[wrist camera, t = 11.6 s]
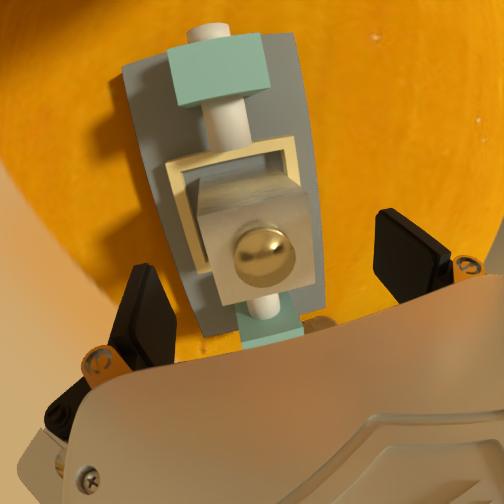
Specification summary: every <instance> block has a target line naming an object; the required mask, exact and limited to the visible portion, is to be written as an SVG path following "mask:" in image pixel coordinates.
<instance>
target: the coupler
mask: <svg viewBox="0 0 504 504" xmlns="http://www.w3.org/2000/svg"><path fill="white" fill-rule="evenodd" d="M197 220H198V223H199V227H200V231H201V234H202V238H203V241H204V245H205V248H206V252H207V255H208V259H209V262H210V266H211V269H212V273H213V276H214V279H215V283H216V286H217V289H218V293H219V296H220V299H221V302H222V306H225V305H230V304H234V303H238V302H243V301H247V300H251V299H255V298H260V297H264V296H268V295H272V294H276V293H280V292H284V291H288V290H292V289H296V288H300V287H304V286H307V285H311V284H315V268H314V254H313V241H312V230H311V219H310V209H309V199H308V192H306V191H305V190H304V189H303V188H302V187H300V186H299V185H298V184H297V183H295V182H294V181H293V180H292V179H290V178H289V177H288V176H287V175H285V174H284V173H283V172H282V171H280V170H279V169H278V168H276V167H275V166H274V165H272V164H271V163H270V162H269V163H264V164H259V165H254V166H249V167H244V168H239V169H234V170H230V171H225V172H221V173H216V174H212V175H208V176H204V177H200V182H199V194H198V206H197Z"/></svg>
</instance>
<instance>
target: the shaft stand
mask: <svg viewBox="0 0 504 504" xmlns="http://www.w3.org/2000/svg"><path fill="white" fill-rule="evenodd" d="M187 39H188V44H186V45H182V46H178V47H174V48H170V49H167V52H166V53H162V54H159V55H155V56H152V57H149V58H146V59H142V60H139V61H136V62H133V63H131V64H128V65H125V66H122V67H121V68H122V73H123V78H124V84H125V88H126V93H127V98H128V103H129V107H130V112H131V116H132V120H133V124H134V129H135V133H136V137H137V141H138V144H139V148H140V152H141V156H142V160H143V163H144V167H145V171H146V174H147V178H148V181H149V185H150V188H151V191H152V195H153V198H154V201H155V204H156V208H157V211H158V214H159V217H160V220H161V223H162V227H163V230H164V233H165V236H166V239H167V242H168V244H169V247H170V250H171V253H172V256H173V259H174V262H175V264H176V267H177V270H178V273H179V275H180V278H181V281H182V284H183V286H184V289H185V291H186V294H187V297H188V299H189V302H190V304H191V307H192V309H193V312H194V314H195V317H196V319H197V322H198V324H199V327H200V329H201V332H202V334H203V336H204V338H205V337H210V336H215V335H219V334H224V333H229V332H233V331H238V330H239V333H240V338H241V343H242V347H243V350H245V349H250V348H254V347H258V346H263V345H267V344H271V343H275V342H279V341H283V340H287V339H291V338H295V337H299V336H302V335H304V327H303V325H302V322H301V320H300V318H299V315H302V314H305V313H309V312H312V311H316V310H320V309H323V308H326V307H325V277H324V257H323V241H322V227H321V214H320V203H319V192H318V182H317V173H316V165H315V156H314V148H313V141H312V134H311V127H310V120H309V113H308V107H307V101H306V95H305V89H304V83H303V78H302V72H301V67H300V62H299V57H298V52H297V47H296V43H295V38H294V34H293V33H279V34H266V35H260V32H259V33H250V34H242V35H234V36H231V35H230V30H229V26H228V24H225V23H210V24H205V25H201V26H198V27H195V28H193V29H191V30H189V31H188V32H187ZM269 162H270V163H271V164H272V165H274V166H275V167H276V168H278V169H279V170H280V171H282V172H283V173H284V174H285V175H287V176H288V177H289V178H290V179H292V180H293V181H294V182H295V183H297V184H298V185H299V186H300V187H302V188H303V189H304V190H305V191H306V192H308V199H309V209H310V219H311V230H312V241H313V254H314V268H315V284H311V285H307V286H304V287H300V288H296V289H292V290H288V291H284V292H280V293H276V294H272V295H268V296H264V297H260V298H255V299H251V300H247V301H243V302H238V303H234V304H230V305H225V306H222V302H221V299H220V296H219V293H218V289H217V286H216V283H215V279H214V276H213V273H212V269H211V266H210V262H209V259H208V255H207V252H206V248H205V245H204V241H203V238H202V234H201V231H200V227H199V223H198V220H197V206H198V194H199V182H200V177H204V176H208V175H212V174H216V173H221V172H225V171H230V170H234V169H239V168H244V167H249V166H254V165H259V164H264V163H269Z"/></svg>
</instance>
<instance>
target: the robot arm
mask: <svg viewBox="0 0 504 504" xmlns="http://www.w3.org/2000/svg"><path fill="white" fill-rule="evenodd" d="M450 256H451V251H449V250H448V249H447V248H446V247H444V246H443V245H442V244H441V243H439V242H438V241H437V240H436V239H434V238H433V237H432V236H430V235H429V234H428V233H426V232H425V231H424V230H422V229H421V228H420V227H418V226H417V225H416V224H414V223H413V222H412V221H410V220H409V219H407V218H406V217H405V216H403V215H402V214H400V213H399V212H397V211H396V210H395V209H393V208H388V209H383V210H380V211H379V213H378V214H377V215H376V218H375V243H374V259H373V270H374V273H375V275H376V276H377V277H378V278H379V280H380V281H381V282H382V283H383V284H384V286H385V287H386V288H387V289H388V290H389V292H390V293H391V294H392V295H393V297H394V298H395V299H396V300H397V301H398V303H399V305H397V306H394V307H391V308H388V309H386V310H383V311H380V312H377V313H374V314H371V315H368V316H365V317H362V318H359V319H356V320H353V321H350V322H347V323H344V324H340V325H337V326H334V327H330V328H327V329H324V330H320V331H317V332H313V333H310V334H306V335H302V336H299V337H295V338H291V339H287V340H283V341H279V342H275V343H271V344H267V345H263V346H258V347H254V348H250V349H245V350H241V351H236V352H231V353H227V354H222V355H217V356H212V357H206V358H201V359H195V360H190V361H184V362H178V363H174V358H175V341H176V327H177V320H176V316H175V314H174V311H173V309H172V307H171V305H170V303H169V300H168V298H167V296H166V293H165V291H164V289H163V287H162V284H161V282H160V280H159V277H158V275H157V272H156V270H155V268H154V266H153V265H151V266H150V265H149V264H148V263H144V264H140V265H136V266H134V267H133V269H132V272H131V275H130V277H129V280H128V283H127V286H126V289H125V292H124V295H123V297H122V300H121V303H120V305H119V308H118V311H117V314H116V318H115V321H114V324H113V328H112V331H111V334H110V337H109V341H108V344H107V345H101V346H98V347H95V348H94V349H92V350H91V351H89V352H88V353H87V354H86V356H85V357H84V358H83V361H82V363H81V370H82V373H83V375H84V376H83V377H82V378H81V379H80V380H79V381H78V382H76V383H75V384H74V385H73V386H71V387H70V388H69V389H68V390H67V391H66V392H64V393H63V394H62V395H61V396H60V397H59V398H57V399H56V400H55V401H54V402H53V403H52V404H51V405H50V406H49V407H48V409H47V410H46V412H45V416H44V422H45V426H46V427H45V429H44V430H43V429H41V428H40V430H39V431H38V432H37V434H36V436H35V437H34V438H33V440H32V441H31V443H30V444H29V446H28V447H27V449H26V450H25V452H24V453H23V455H22V457H21V458H20V460H19V462H18V464H17V473H18V476H19V478H20V480H21V481H22V483H23V484H24V485H25V486H26V487H27V489H28V490H29V491H30V492H31V493H32V495H33V496H34V497H35V498H36V499H37V500H38V501H39V502H40V504H504V276H502V275H487V274H486V273H485V268H484V265H483V264H482V263H481V262H480V261H479V260H478V259H476V258H474V257H472V256H468V255H460V256H457V257H455V258H454V260H453V261H452V260H451V259H450Z"/></svg>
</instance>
